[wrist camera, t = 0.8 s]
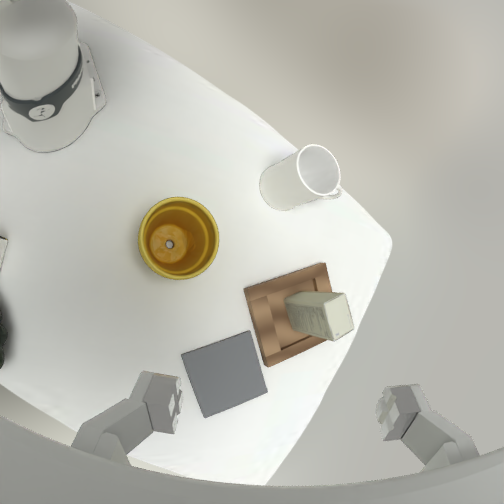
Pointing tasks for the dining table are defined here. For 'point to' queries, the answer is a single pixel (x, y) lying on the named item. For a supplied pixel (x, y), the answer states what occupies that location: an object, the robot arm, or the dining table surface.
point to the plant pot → (178, 238)
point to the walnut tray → (283, 312)
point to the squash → (2, 341)
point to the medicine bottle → (2, 248)
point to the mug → (301, 178)
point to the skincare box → (320, 314)
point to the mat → (225, 373)
